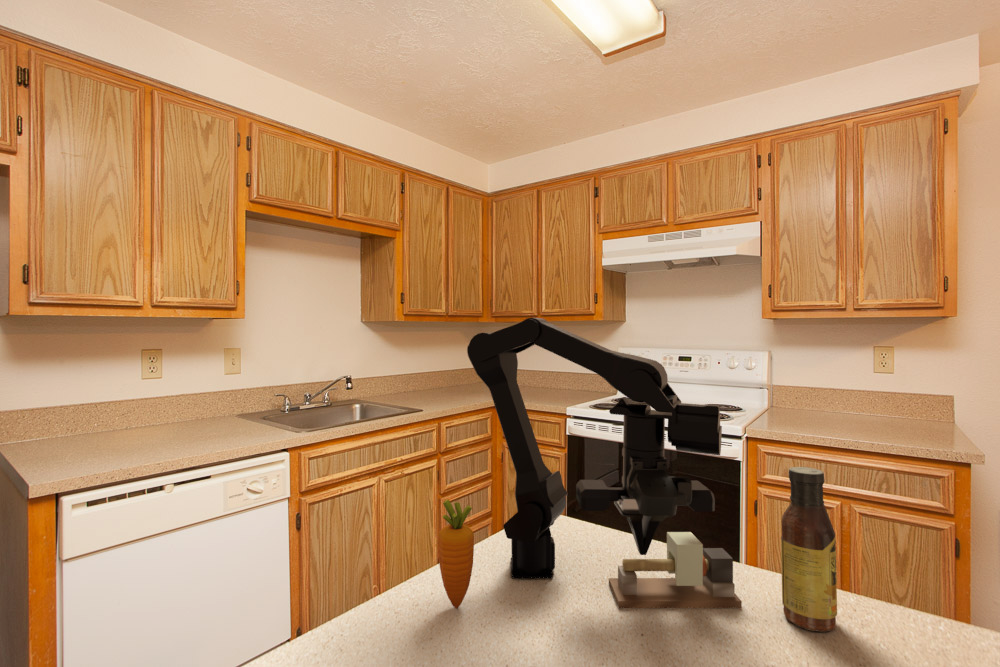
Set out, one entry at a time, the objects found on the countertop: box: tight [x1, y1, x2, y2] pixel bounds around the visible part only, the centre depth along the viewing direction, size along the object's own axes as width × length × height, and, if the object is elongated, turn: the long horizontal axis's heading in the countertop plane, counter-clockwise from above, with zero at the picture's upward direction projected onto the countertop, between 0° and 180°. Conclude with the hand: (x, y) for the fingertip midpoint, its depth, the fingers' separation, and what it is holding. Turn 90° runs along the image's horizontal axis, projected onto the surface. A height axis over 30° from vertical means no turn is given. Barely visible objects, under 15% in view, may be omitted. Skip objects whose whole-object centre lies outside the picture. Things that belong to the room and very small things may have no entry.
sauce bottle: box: [780, 466, 838, 633], centre depth 66 cm, size 7×6×20 cm
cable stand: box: [608, 547, 743, 609], centre depth 73 cm, size 17×6×6 cm, turn 90°
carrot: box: [437, 499, 475, 609], centre depth 70 cm, size 5×5×15 cm
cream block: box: [666, 531, 704, 586], centre depth 73 cm, size 4×4×6 cm
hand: (642, 553), depth 73 cm, fingers closed
